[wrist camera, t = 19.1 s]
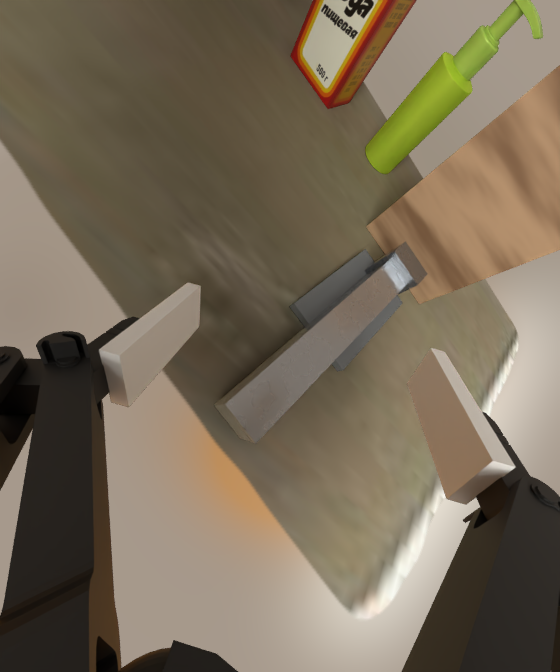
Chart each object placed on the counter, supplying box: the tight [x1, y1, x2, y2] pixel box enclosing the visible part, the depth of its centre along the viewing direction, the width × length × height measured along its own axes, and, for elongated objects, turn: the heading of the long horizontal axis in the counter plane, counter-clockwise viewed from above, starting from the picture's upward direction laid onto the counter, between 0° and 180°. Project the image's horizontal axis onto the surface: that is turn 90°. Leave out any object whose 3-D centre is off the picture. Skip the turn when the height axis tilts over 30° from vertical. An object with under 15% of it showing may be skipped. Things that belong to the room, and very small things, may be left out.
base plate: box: [290, 249, 402, 371], centre depth 32 cm, size 15×9×1 cm, turn 132°
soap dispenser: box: [365, 0, 543, 174], centre depth 35 cm, size 6×7×20 cm
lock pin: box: [214, 241, 427, 443], centre depth 26 cm, size 28×5×5 cm, turn 132°
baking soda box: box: [291, 0, 416, 109], centre depth 35 cm, size 10×6×16 cm
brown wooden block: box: [366, 66, 560, 304], centre depth 28 cm, size 10×14×30 cm
